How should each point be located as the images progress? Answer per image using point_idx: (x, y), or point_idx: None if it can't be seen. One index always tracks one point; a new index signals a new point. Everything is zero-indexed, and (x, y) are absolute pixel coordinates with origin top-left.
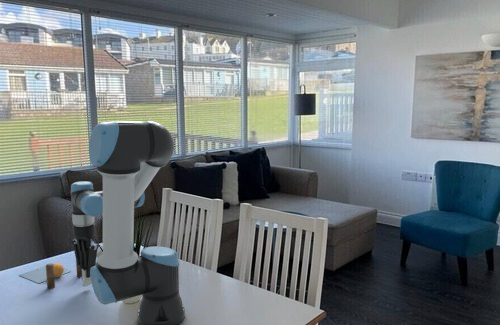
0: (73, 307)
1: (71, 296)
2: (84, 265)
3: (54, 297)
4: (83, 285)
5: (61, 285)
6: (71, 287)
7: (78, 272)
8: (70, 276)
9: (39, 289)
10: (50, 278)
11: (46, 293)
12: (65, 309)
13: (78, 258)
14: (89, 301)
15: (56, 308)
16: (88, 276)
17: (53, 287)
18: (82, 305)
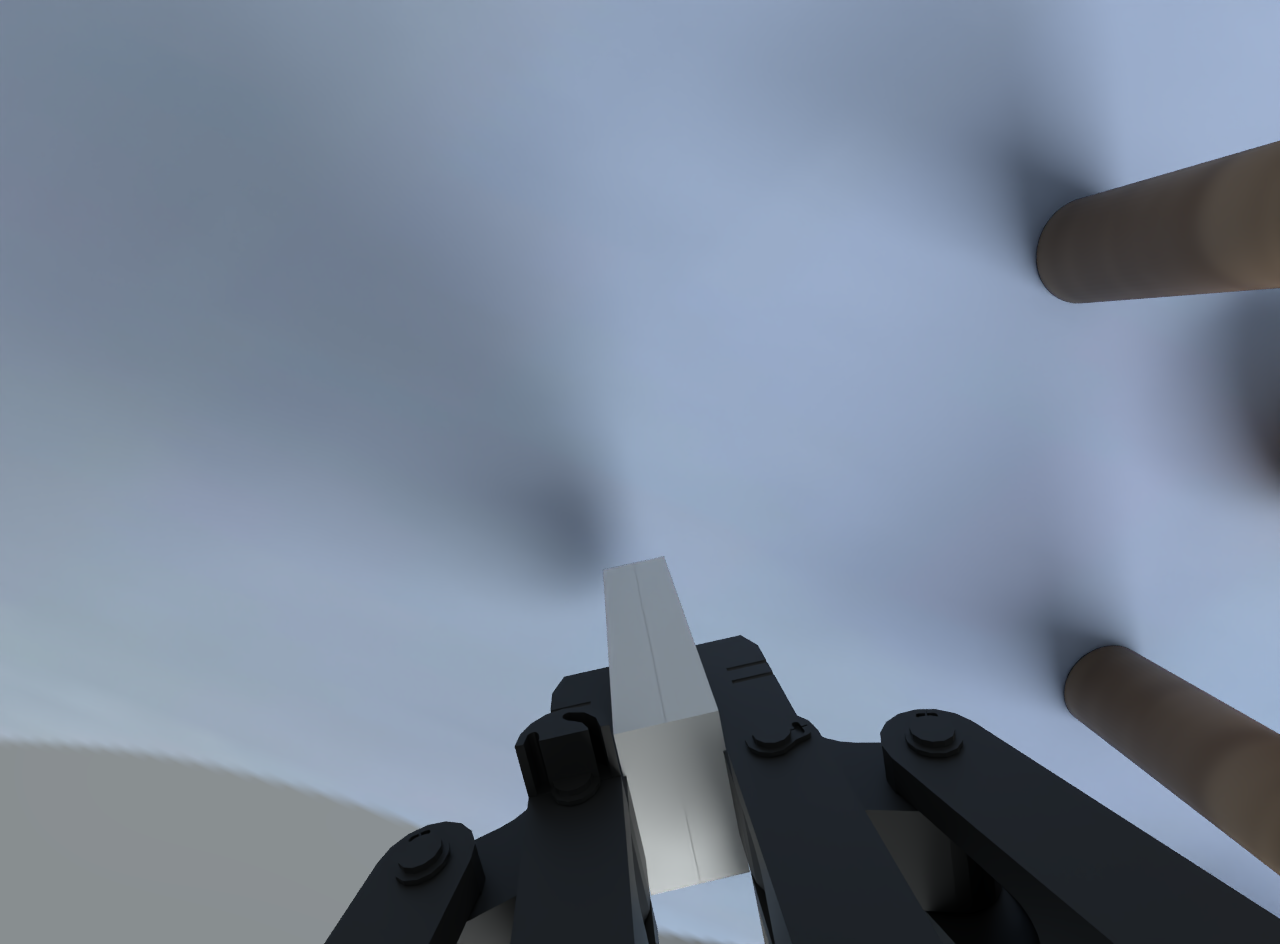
0: (212, 209)
1: (588, 340)
2: (625, 834)
3: (736, 145)
4: (646, 562)
5: (1031, 385)
6: (864, 459)
7: (1142, 690)
8: (1194, 587)
9: (1158, 96)
10: (1191, 196)
11: (952, 115)
12: (224, 91)
13: (1056, 916)
14: (253, 455)
15: (350, 3)
16: (555, 700)
17: (1044, 265)
18: (191, 332)
